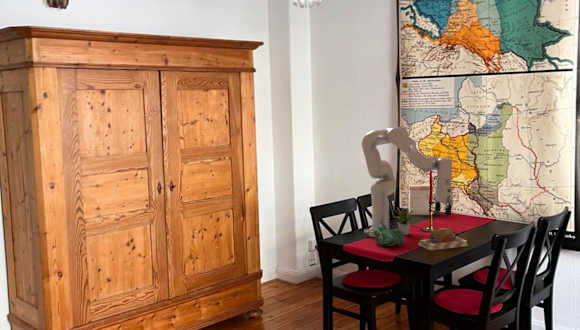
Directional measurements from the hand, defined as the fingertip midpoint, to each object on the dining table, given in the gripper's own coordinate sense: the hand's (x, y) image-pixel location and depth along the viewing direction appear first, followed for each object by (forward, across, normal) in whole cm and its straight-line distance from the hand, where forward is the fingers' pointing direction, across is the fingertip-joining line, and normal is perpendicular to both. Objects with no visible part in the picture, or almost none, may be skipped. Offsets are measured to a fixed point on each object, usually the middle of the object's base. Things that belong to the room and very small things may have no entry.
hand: (442, 213), depth 314 cm
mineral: (+18, +11, +26) cm, 33 cm away
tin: (+17, 0, 0) cm, 17 cm away
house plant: (+18, +27, +7) cm, 33 cm away
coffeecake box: (+18, +71, -30) cm, 79 cm away
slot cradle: (+17, -1, 0) cm, 17 cm away
